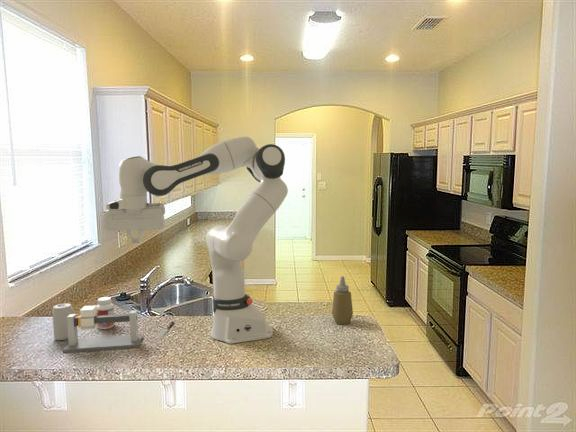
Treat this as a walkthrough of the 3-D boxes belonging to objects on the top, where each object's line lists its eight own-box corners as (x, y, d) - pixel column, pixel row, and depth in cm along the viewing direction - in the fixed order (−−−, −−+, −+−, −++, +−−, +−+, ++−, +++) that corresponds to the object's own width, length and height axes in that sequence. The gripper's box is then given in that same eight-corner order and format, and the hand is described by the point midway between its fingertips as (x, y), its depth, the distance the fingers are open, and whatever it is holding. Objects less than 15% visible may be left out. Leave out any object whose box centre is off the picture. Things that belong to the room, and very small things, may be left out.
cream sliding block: (97, 324, 151) (96, 305, 150) (93, 329, 146) (92, 309, 146) (85, 325, 150) (84, 306, 149) (81, 330, 146) (79, 310, 145)
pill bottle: (93, 328, 165) (91, 300, 164) (105, 323, 171) (104, 295, 170) (106, 330, 163) (104, 301, 162) (118, 325, 168) (116, 297, 167)
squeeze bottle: (329, 324, 166) (329, 278, 164) (335, 317, 173) (335, 273, 171) (349, 327, 163) (349, 280, 161) (355, 320, 170) (355, 275, 168)
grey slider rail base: (143, 337, 156) (141, 307, 155) (138, 347, 147) (136, 315, 146) (72, 341, 152) (69, 311, 151) (62, 352, 143) (60, 320, 142)
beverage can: (69, 333, 161) (67, 301, 159) (77, 337, 157) (75, 304, 155) (51, 338, 156) (48, 305, 154) (59, 342, 152) (56, 309, 150)
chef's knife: (149, 344, 151) (157, 343, 151) (148, 341, 151) (157, 340, 151) (167, 324, 170) (174, 323, 170) (166, 321, 170) (174, 320, 170)
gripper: (165, 202, 156) (167, 240, 158) (106, 203, 153) (108, 242, 155) (163, 203, 150) (165, 242, 152) (101, 204, 147) (103, 245, 149)
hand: (136, 242), depth 153 cm, fingers closed
